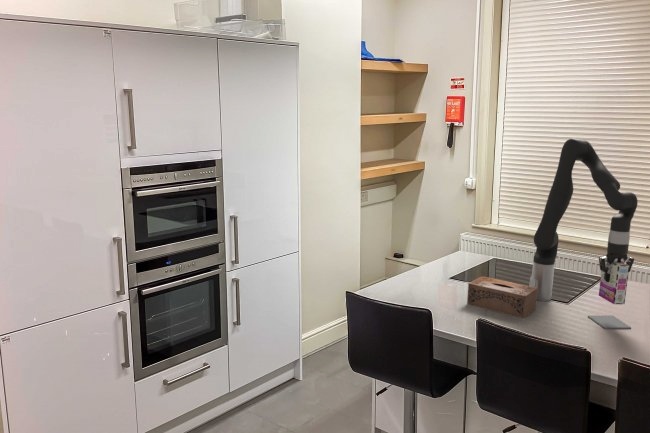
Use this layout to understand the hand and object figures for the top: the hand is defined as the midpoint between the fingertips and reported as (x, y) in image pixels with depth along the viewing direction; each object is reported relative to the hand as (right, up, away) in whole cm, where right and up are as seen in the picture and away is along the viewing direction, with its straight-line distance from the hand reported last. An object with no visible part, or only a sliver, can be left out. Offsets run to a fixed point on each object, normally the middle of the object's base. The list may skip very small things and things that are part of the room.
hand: (613, 281), depth 226 cm
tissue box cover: (-40, -14, +21) cm, 47 cm away
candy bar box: (0, -8, +2) cm, 8 cm away
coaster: (0, -18, +3) cm, 18 cm away
